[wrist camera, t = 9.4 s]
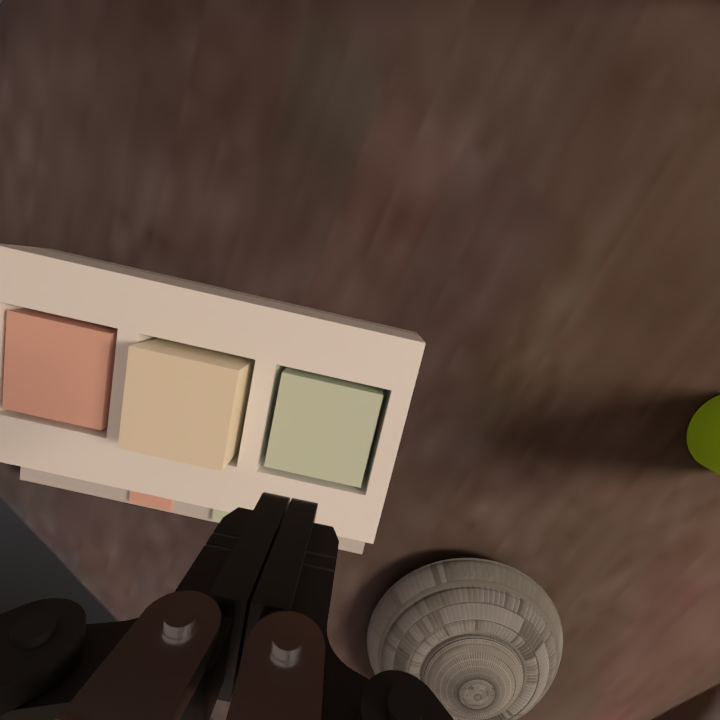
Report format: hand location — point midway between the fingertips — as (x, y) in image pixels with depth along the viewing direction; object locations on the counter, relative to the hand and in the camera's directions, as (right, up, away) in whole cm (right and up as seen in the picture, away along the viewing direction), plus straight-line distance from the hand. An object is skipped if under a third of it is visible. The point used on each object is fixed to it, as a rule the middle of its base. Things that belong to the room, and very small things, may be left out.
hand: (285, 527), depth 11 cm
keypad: (-8, +1, +18) cm, 20 cm away
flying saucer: (+10, -17, +22) cm, 29 cm away
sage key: (0, +1, +16) cm, 16 cm away
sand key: (-8, +2, +14) cm, 16 cm away
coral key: (-16, +4, +16) cm, 23 cm away
